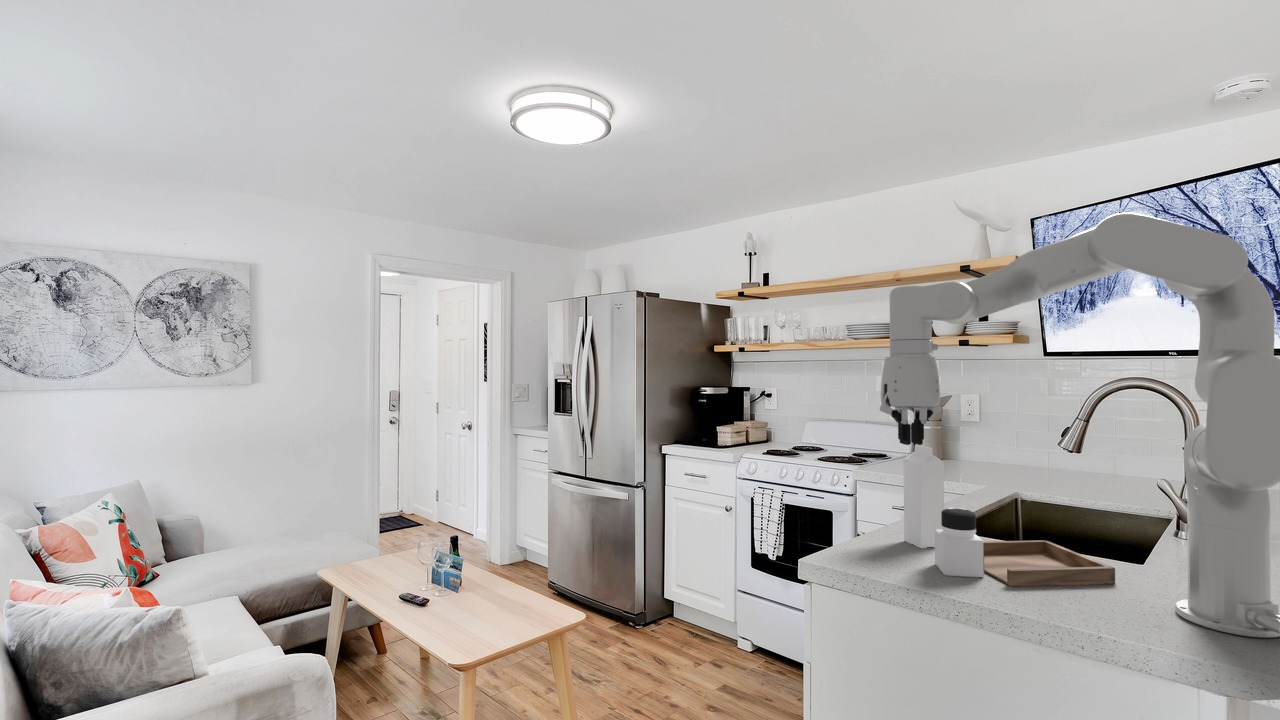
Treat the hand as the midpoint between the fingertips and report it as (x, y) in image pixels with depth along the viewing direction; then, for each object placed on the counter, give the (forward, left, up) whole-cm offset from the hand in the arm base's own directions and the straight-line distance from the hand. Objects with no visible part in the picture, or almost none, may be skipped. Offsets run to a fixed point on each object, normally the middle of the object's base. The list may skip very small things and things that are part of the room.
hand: (911, 443), depth 122 cm
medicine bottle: (0, -9, -25) cm, 27 cm away
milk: (+18, -12, -25) cm, 33 cm away
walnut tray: (0, -24, -25) cm, 35 cm away
